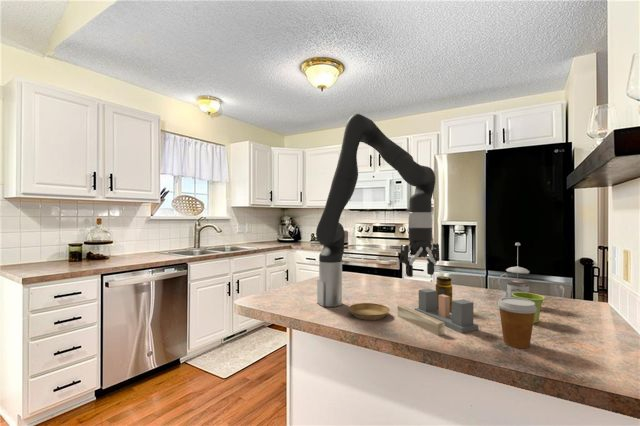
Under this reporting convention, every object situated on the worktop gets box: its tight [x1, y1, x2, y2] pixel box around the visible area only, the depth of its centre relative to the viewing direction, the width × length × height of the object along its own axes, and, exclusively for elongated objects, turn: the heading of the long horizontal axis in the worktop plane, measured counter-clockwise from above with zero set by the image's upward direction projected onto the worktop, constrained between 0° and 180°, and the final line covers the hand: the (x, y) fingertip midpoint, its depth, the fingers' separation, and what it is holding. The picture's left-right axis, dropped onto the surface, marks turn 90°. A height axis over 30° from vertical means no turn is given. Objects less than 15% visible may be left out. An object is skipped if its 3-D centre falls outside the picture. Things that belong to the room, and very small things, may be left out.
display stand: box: [414, 288, 479, 334], centre depth 111 cm, size 7×22×8 cm, turn 23°
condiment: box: [435, 275, 453, 312], centre depth 125 cm, size 7×8×12 cm
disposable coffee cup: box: [497, 296, 537, 349], centre depth 92 cm, size 10×10×12 cm
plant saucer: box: [348, 302, 391, 321], centre depth 117 cm, size 15×15×3 cm
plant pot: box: [512, 291, 545, 324], centre depth 111 cm, size 9×9×9 cm
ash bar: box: [397, 304, 446, 337], centre depth 107 cm, size 2×20×4 cm, turn 23°
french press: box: [497, 242, 530, 298], centre depth 130 cm, size 10×12×25 cm
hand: (420, 275), depth 107 cm, fingers open, 8 cm apart
